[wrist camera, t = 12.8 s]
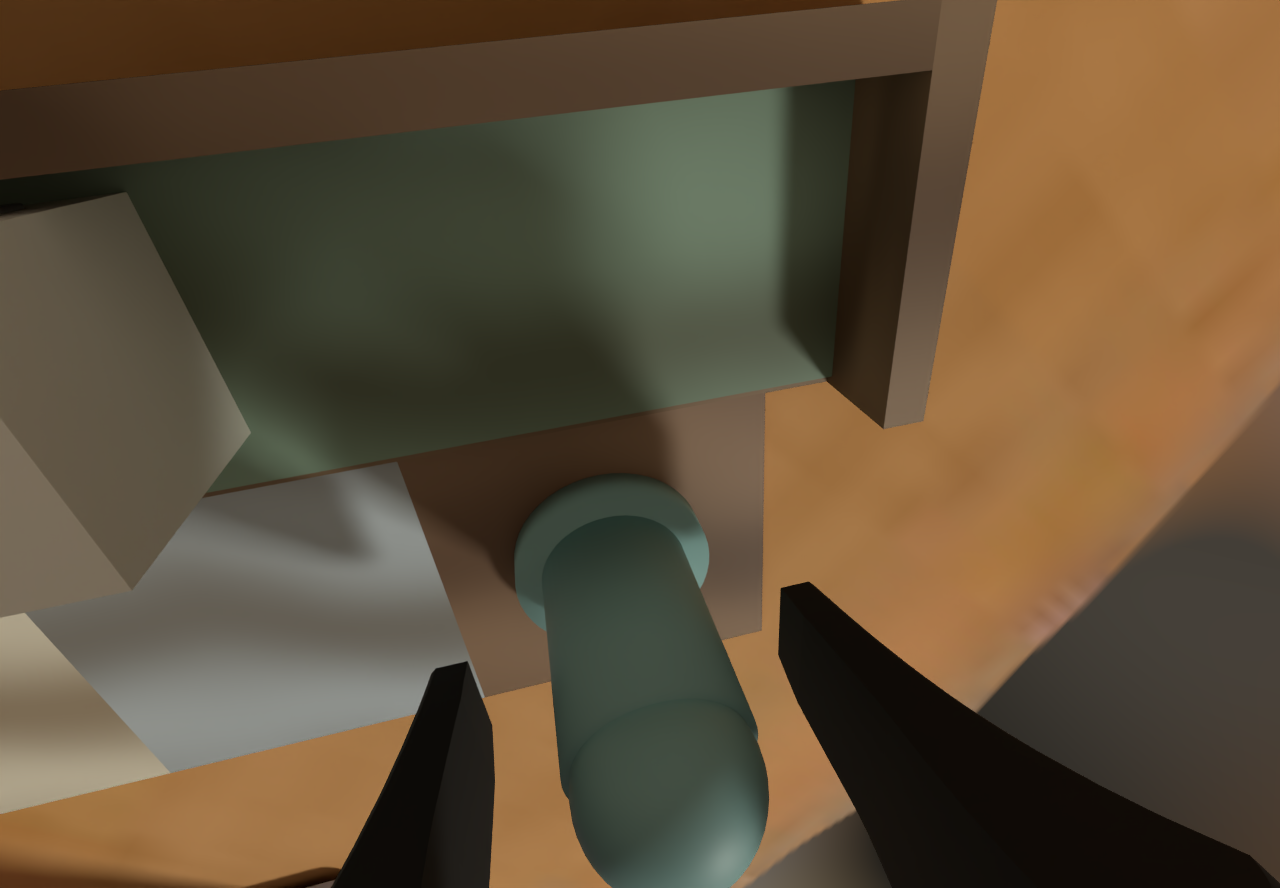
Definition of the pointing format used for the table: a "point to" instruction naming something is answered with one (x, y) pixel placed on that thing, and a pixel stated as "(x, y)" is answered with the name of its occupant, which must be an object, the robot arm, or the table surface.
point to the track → (344, 602)
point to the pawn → (642, 686)
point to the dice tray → (541, 222)
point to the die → (97, 403)
